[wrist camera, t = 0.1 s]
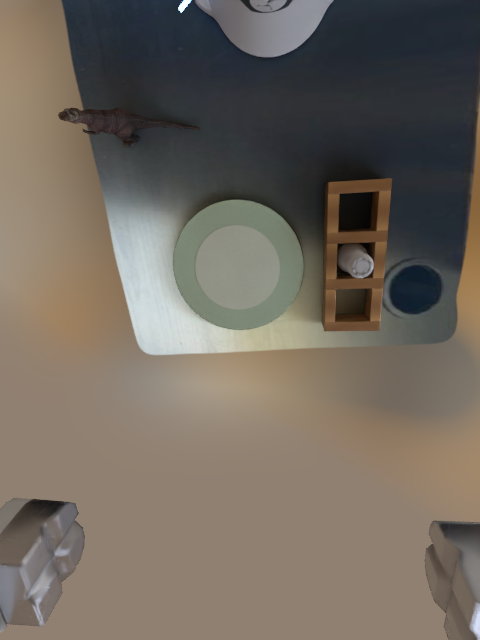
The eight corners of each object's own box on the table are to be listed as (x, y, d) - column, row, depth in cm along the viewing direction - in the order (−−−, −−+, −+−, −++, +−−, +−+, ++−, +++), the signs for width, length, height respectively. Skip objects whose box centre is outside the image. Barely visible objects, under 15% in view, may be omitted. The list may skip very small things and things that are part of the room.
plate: (167, 203, 53) (165, 203, 51) (303, 195, 50) (303, 195, 49) (182, 328, 59) (180, 330, 58) (302, 326, 57) (303, 329, 56)
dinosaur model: (50, 102, 39) (183, 87, 37) (95, 117, 49) (200, 106, 48) (60, 142, 40) (188, 129, 39) (102, 149, 51) (204, 139, 50)
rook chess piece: (348, 235, 51) (359, 242, 44) (373, 252, 52) (388, 262, 44) (329, 261, 53) (337, 272, 45) (353, 277, 53) (365, 291, 46)
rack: (325, 182, 49) (328, 182, 46) (384, 179, 48) (392, 178, 45) (321, 323, 56) (324, 331, 53) (373, 322, 55) (379, 330, 52)
